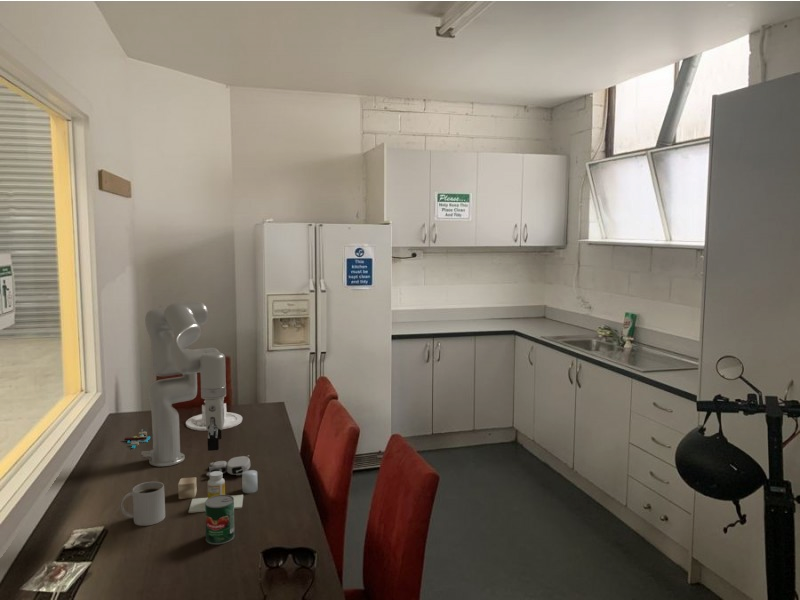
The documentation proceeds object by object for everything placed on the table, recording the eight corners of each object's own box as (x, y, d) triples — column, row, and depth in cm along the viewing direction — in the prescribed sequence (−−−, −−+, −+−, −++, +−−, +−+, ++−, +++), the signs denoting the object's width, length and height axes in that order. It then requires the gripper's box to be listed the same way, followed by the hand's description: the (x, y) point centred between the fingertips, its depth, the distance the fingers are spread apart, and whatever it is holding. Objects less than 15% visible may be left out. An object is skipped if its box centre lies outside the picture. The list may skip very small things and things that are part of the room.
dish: (186, 417, 281) (186, 394, 279) (241, 412, 288) (240, 390, 287) (184, 433, 257) (183, 408, 256) (243, 428, 265) (243, 403, 264)
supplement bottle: (213, 507, 185) (213, 478, 184) (204, 502, 189) (203, 473, 188) (228, 501, 190) (228, 473, 189) (219, 497, 193) (218, 468, 192)
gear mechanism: (118, 451, 237) (142, 449, 238) (117, 437, 236) (142, 436, 238) (131, 434, 256) (154, 433, 258) (131, 422, 256) (153, 421, 257)
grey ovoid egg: (242, 493, 197) (241, 476, 196) (242, 487, 202) (242, 470, 201) (257, 492, 198) (257, 475, 197) (257, 486, 203) (257, 469, 202)
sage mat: (188, 512, 183) (188, 511, 183) (192, 500, 192) (192, 498, 192) (241, 508, 186) (241, 506, 186) (243, 496, 195) (243, 494, 195)
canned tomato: (207, 547, 163) (206, 508, 162) (204, 533, 170) (203, 497, 169) (236, 541, 166) (235, 503, 165) (232, 528, 173) (231, 492, 172)
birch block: (178, 499, 193) (178, 484, 192) (181, 492, 198) (180, 478, 197) (194, 497, 194) (194, 483, 193) (196, 491, 199) (196, 477, 198)
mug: (171, 514, 182) (170, 483, 181) (149, 529, 173) (147, 496, 172) (143, 509, 185) (142, 478, 184) (120, 523, 176) (118, 490, 175)
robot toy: (206, 483, 207) (249, 477, 210) (204, 471, 207) (248, 465, 209) (210, 470, 219) (252, 464, 222) (209, 458, 219) (250, 452, 221)
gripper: (223, 398, 177) (224, 453, 179) (228, 384, 194) (229, 434, 196) (197, 400, 176) (199, 455, 178) (204, 385, 193) (205, 436, 195)
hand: (214, 444), depth 187 cm, fingers open, 9 cm apart
